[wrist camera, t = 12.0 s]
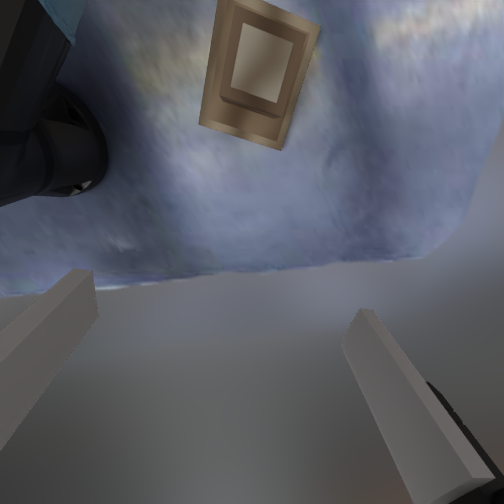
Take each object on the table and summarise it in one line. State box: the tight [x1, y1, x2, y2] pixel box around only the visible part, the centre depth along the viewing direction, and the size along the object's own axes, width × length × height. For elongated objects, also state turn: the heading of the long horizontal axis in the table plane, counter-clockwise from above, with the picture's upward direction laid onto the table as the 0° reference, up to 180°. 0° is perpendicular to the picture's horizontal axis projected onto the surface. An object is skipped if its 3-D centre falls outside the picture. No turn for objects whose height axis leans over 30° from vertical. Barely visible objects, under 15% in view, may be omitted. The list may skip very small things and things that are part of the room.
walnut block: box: [219, 5, 307, 119], centre depth 26 cm, size 7×7×7 cm
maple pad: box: [199, 0, 321, 151], centre depth 30 cm, size 12×14×2 cm
